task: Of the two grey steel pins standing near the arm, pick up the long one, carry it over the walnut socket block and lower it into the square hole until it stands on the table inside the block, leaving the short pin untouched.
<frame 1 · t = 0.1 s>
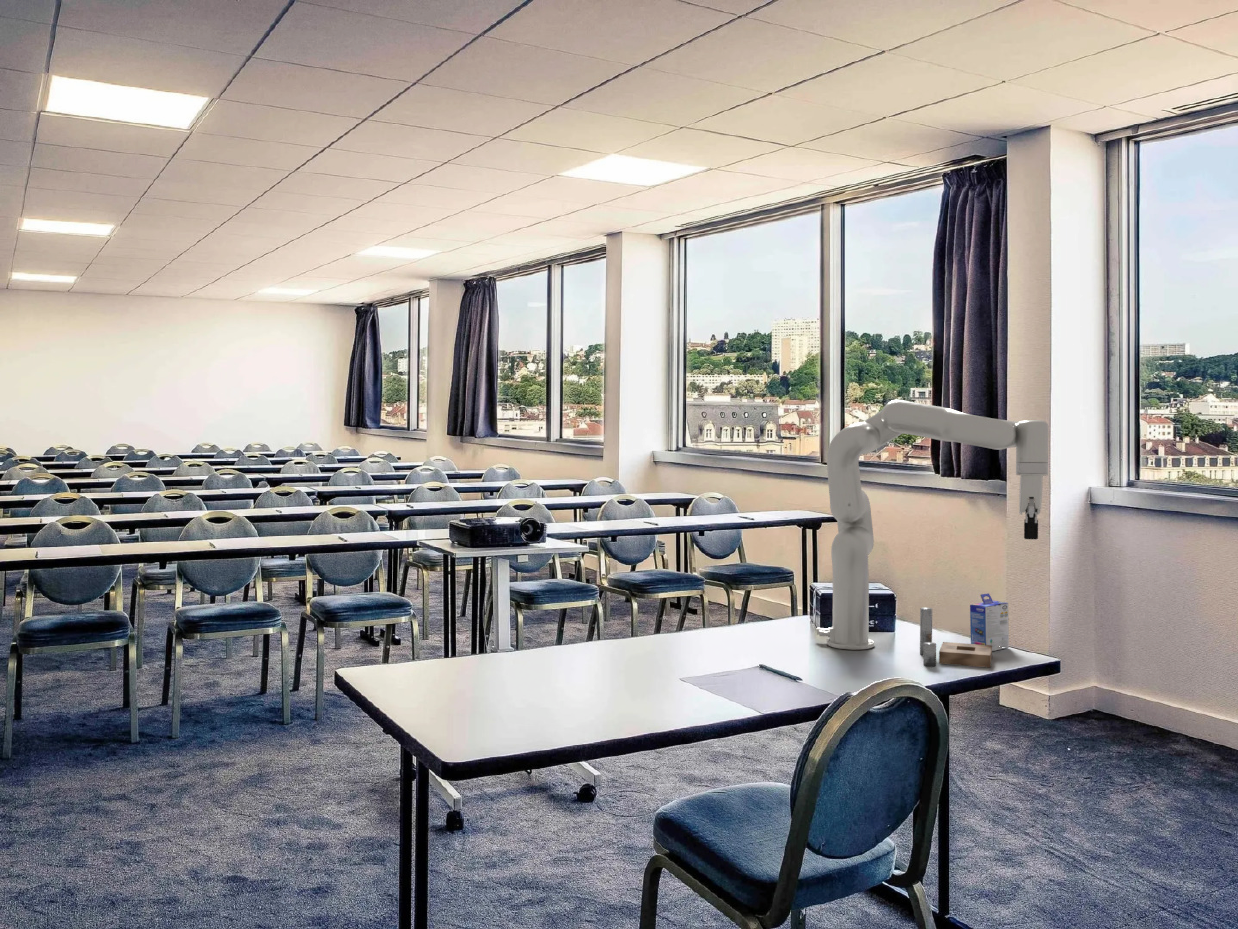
hand: (1030, 537, 261), 31 cm above the table, fingers open, 9 cm apart
short pin: (929, 665, 256), on the table
ink cartridge box: (989, 649, 275), on the table
long pin: (925, 654, 268), on the table
socket block: (965, 660, 262), on the table
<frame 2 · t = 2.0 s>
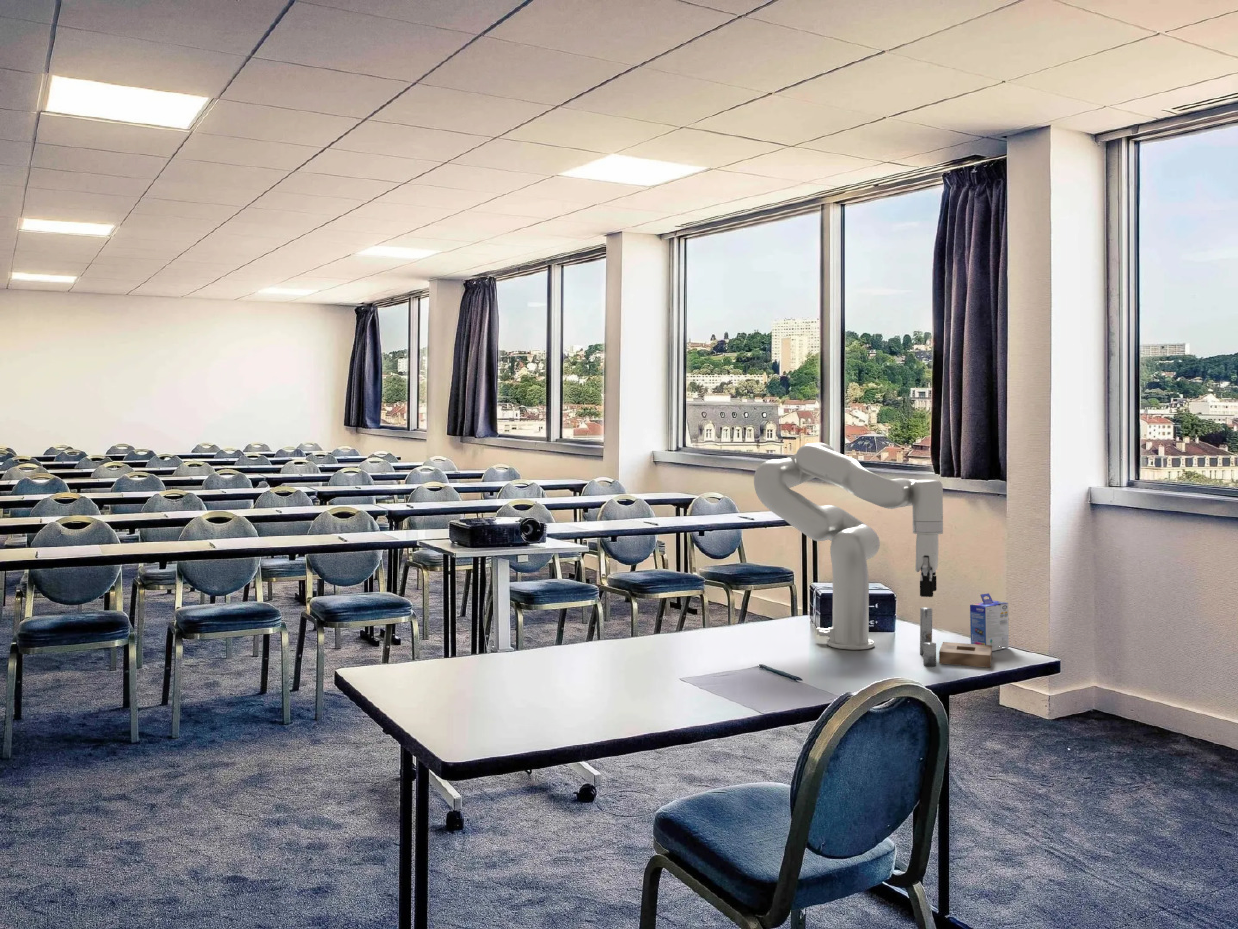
hand: (928, 593, 267), 16 cm above the table, fingers open, 9 cm apart
nothing on the table moved.
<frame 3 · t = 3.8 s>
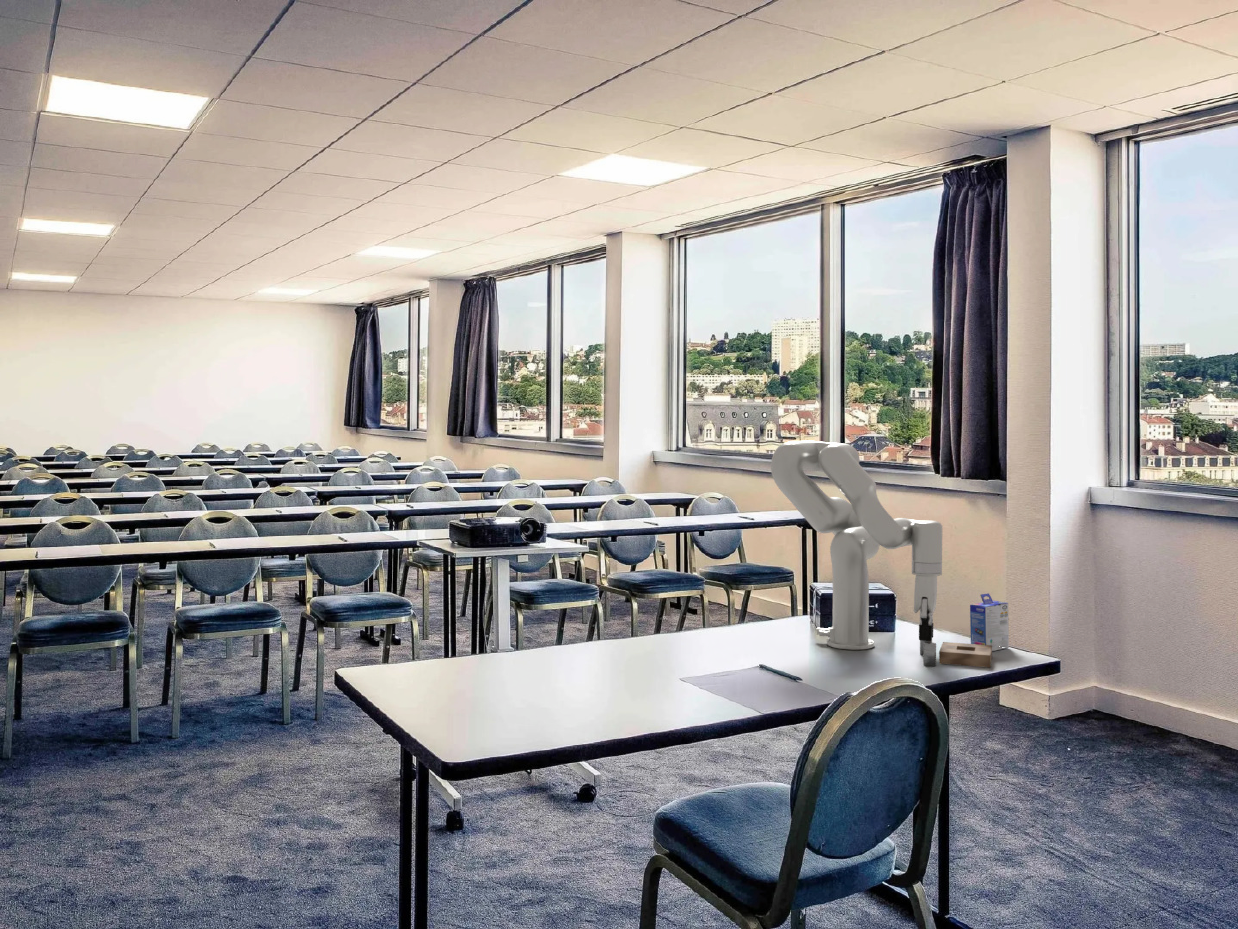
hand: (926, 638, 268), 4 cm above the table, fingers closed on long pin, 3 cm apart
long pin: (925, 654, 268), on the table, touching gripper
everything else where it was.
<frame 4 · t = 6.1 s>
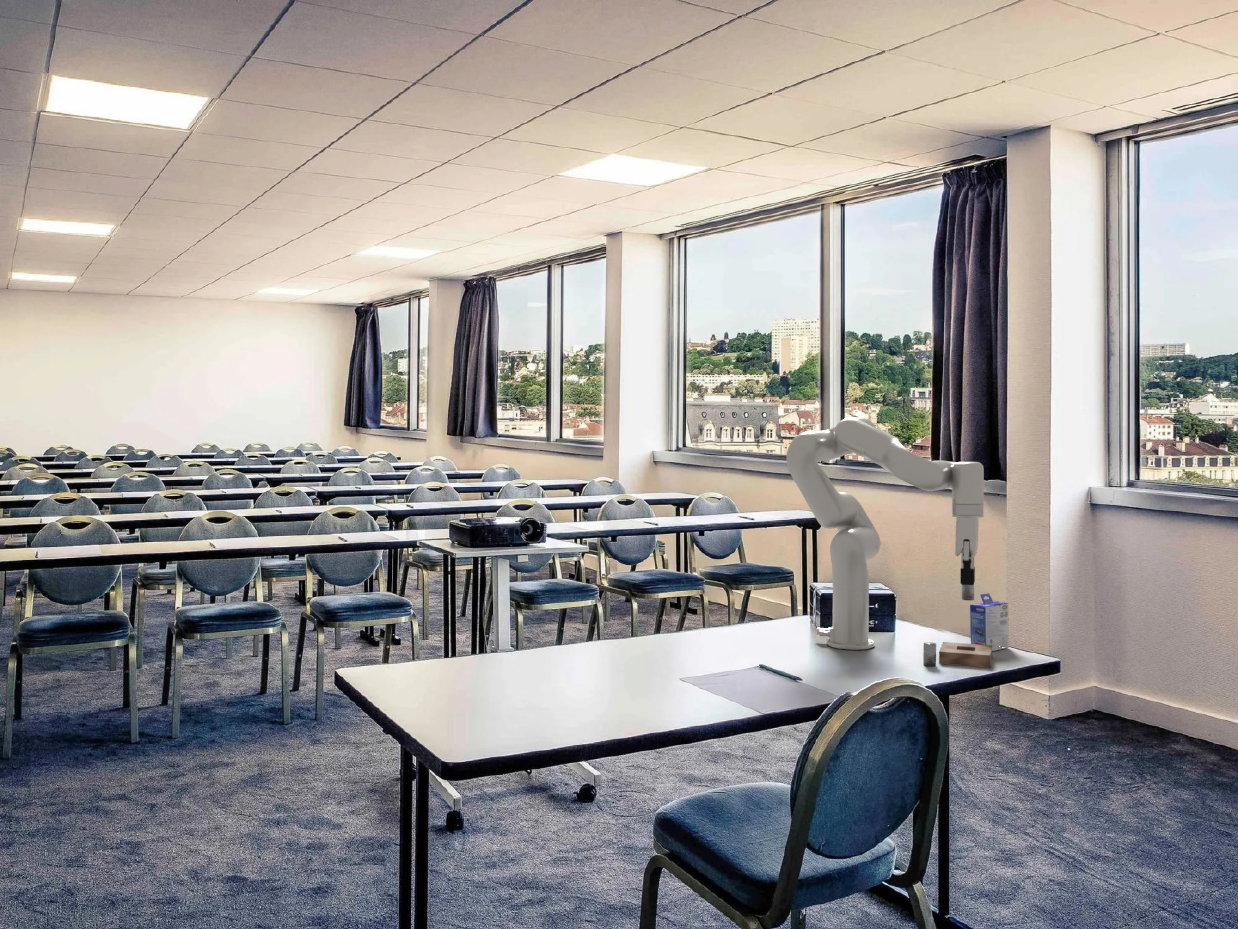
hand: (967, 583, 261), 20 cm above the table, fingers closed on long pin, 3 cm apart
long pin: (967, 599, 261), point 16 cm above the table, touching gripper
everything else where it was.
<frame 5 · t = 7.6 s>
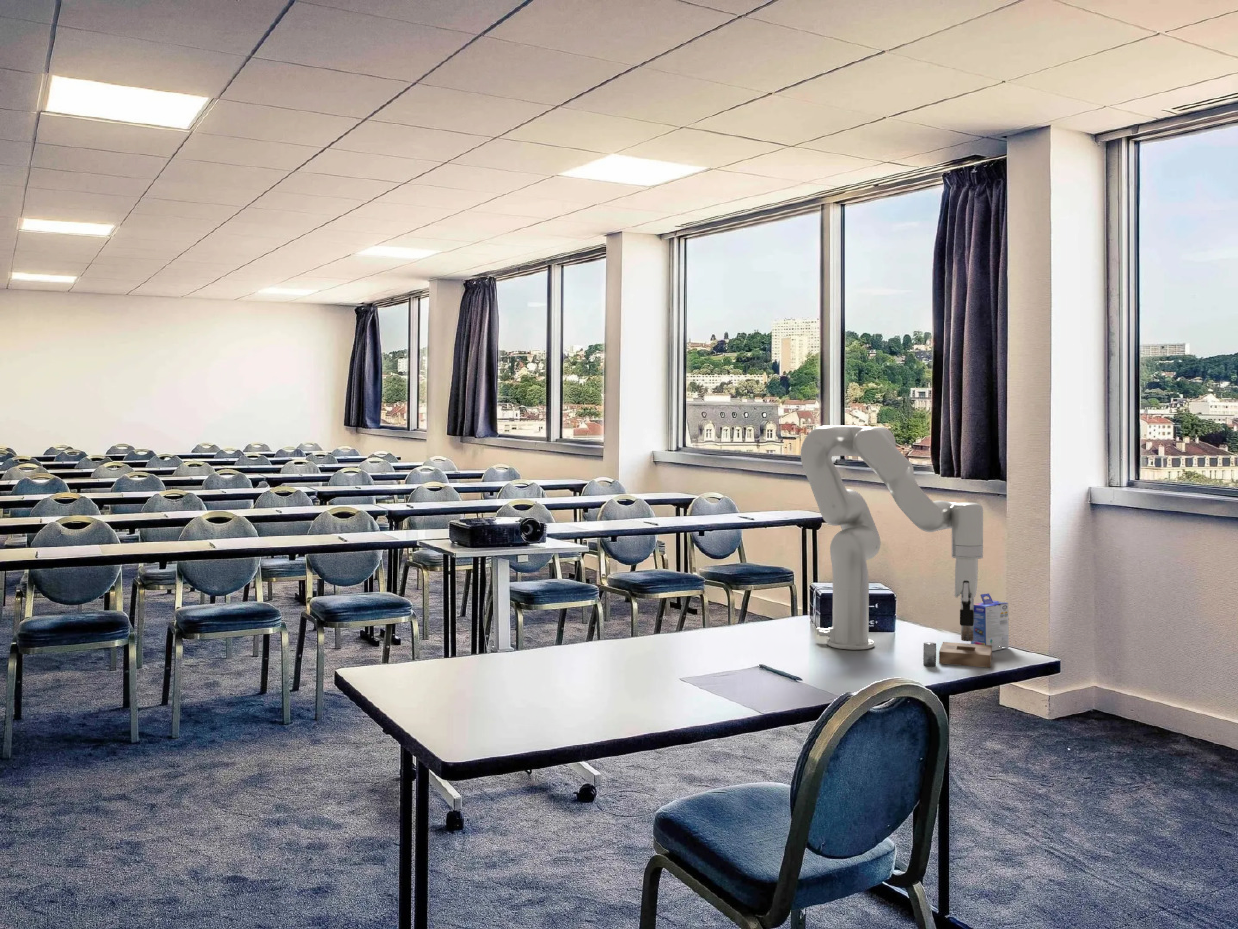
hand: (967, 623, 261), 9 cm above the table, fingers closed on long pin, 3 cm apart
long pin: (967, 640, 261), point 5 cm above the table, touching gripper
everything else where it was.
when the fingers open (5 cm above the table, at t = 8.6 s): long pin stays where it is, resting in socket block.
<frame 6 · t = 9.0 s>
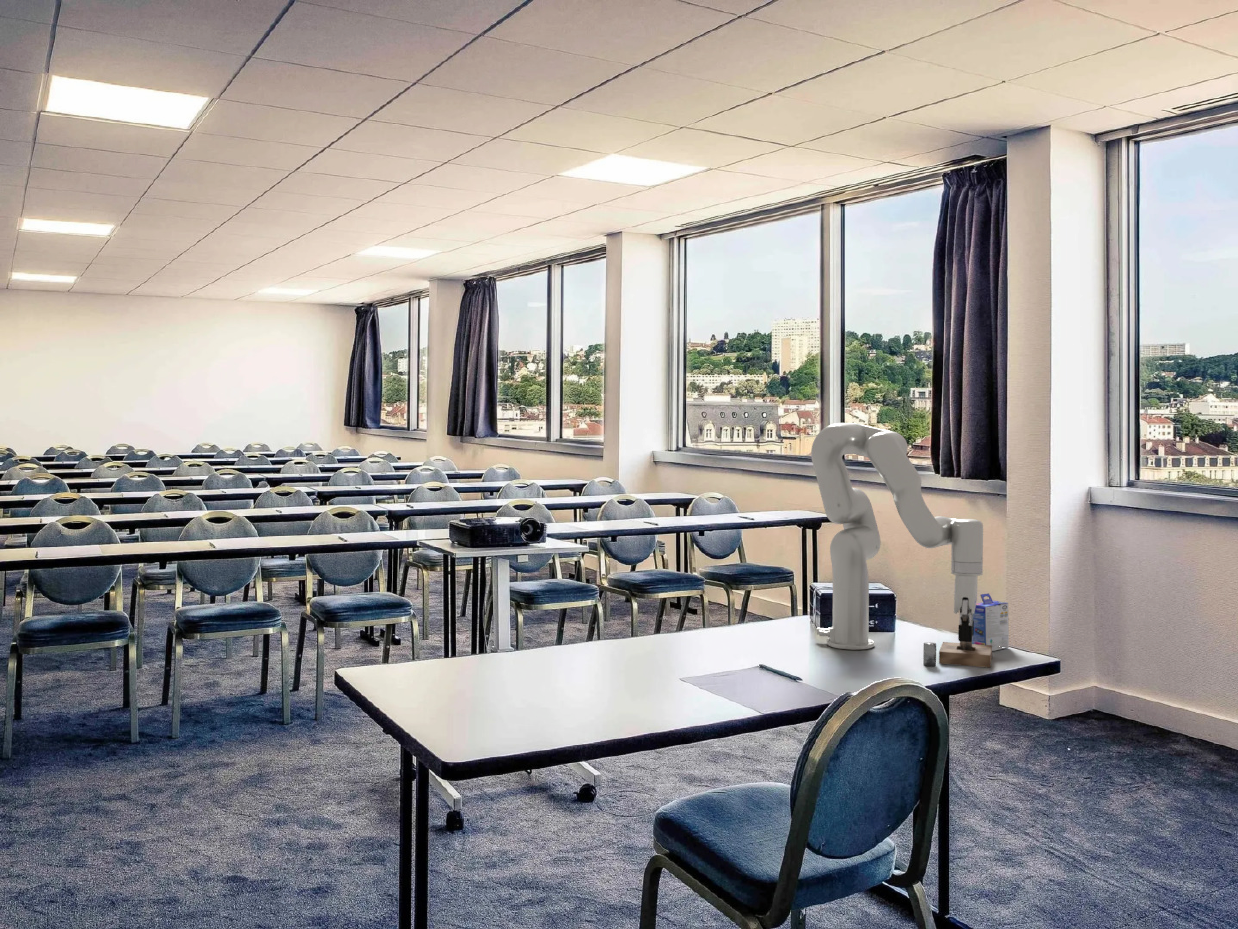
hand: (966, 637, 262), 6 cm above the table, fingers open, 6 cm apart
long pin: (965, 660, 262), resting in socket block
everything else where it was.
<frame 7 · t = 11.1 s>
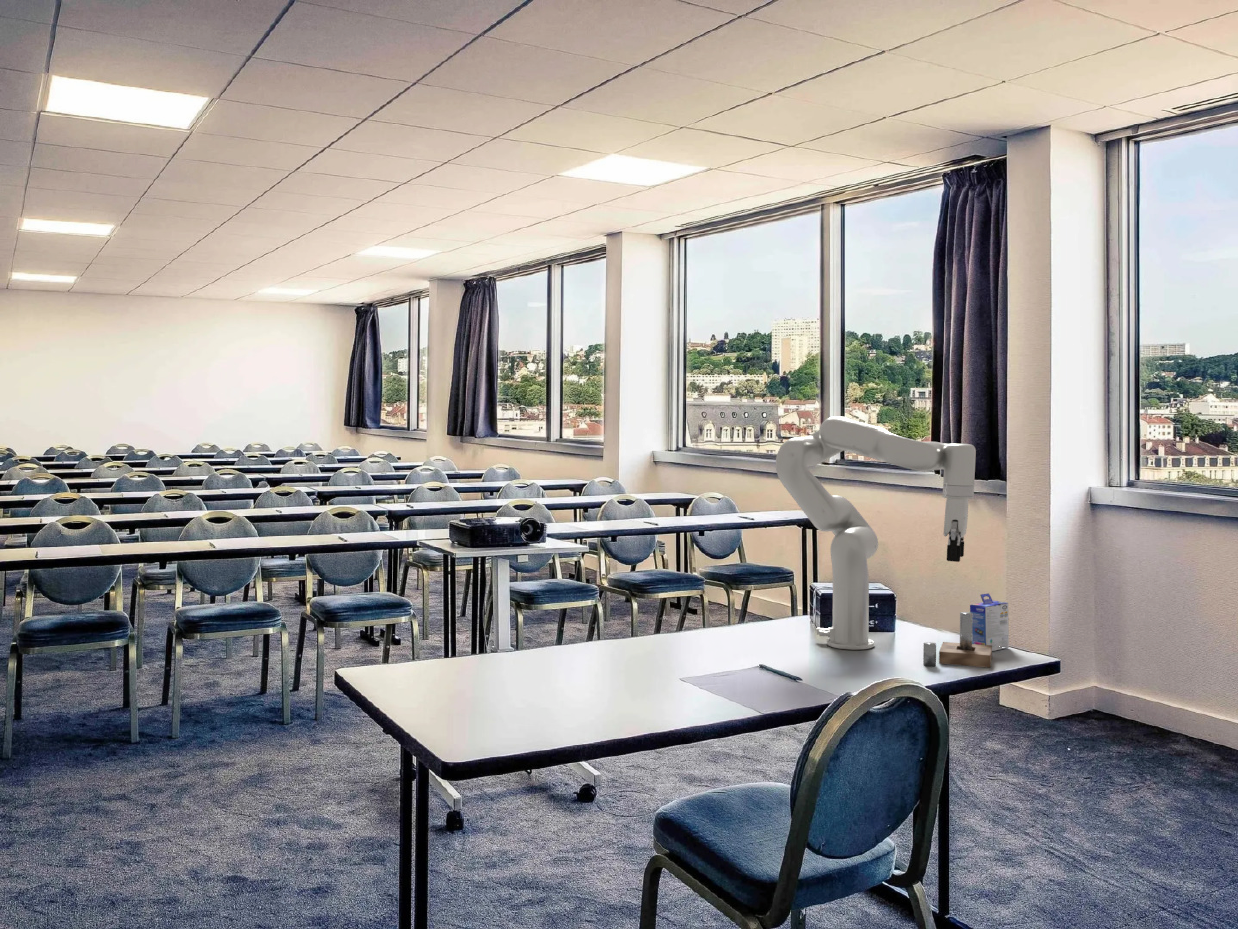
hand: (955, 558, 265), 25 cm above the table, fingers open, 9 cm apart
nothing on the table moved.
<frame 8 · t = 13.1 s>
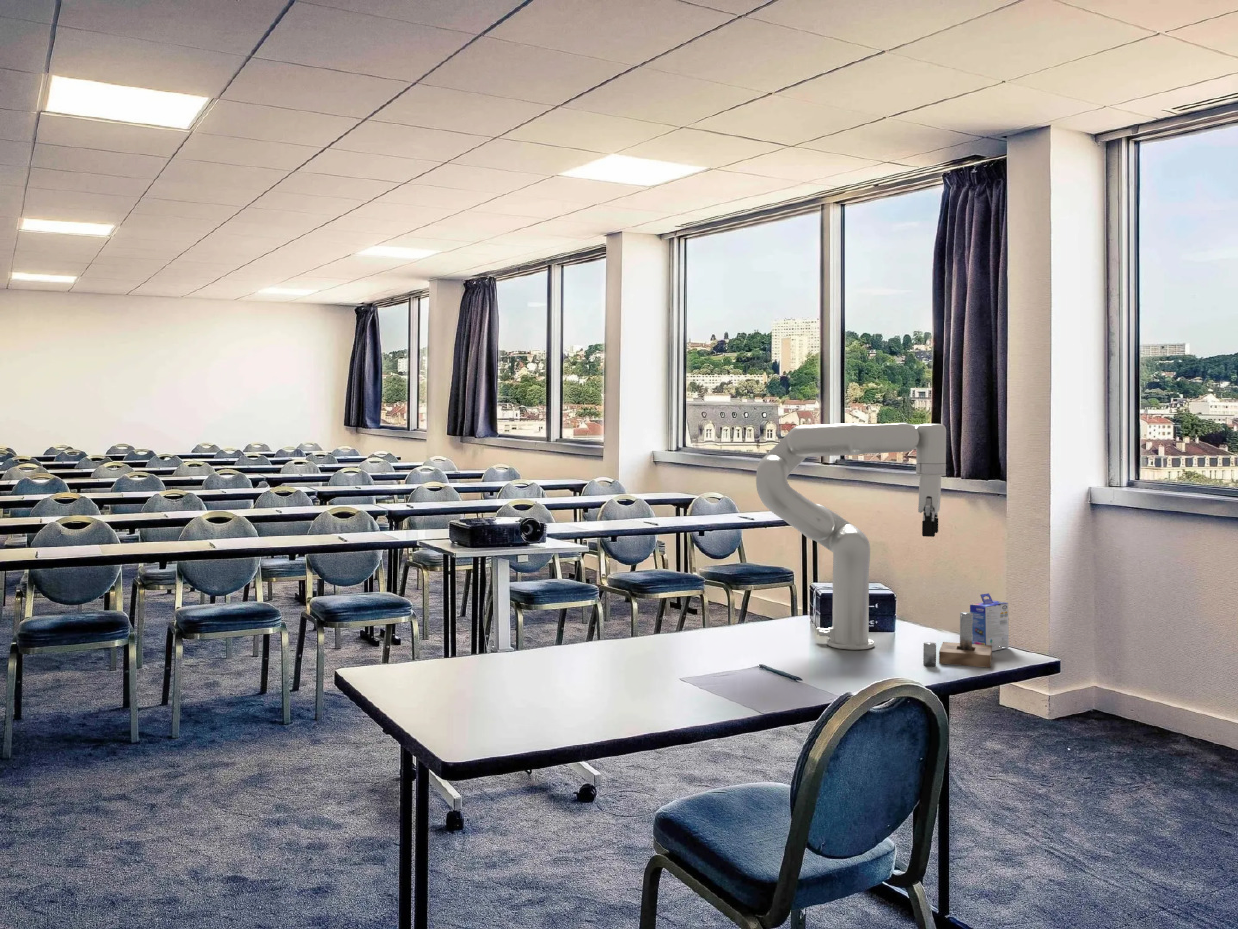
hand: (930, 534, 275), 30 cm above the table, fingers open, 9 cm apart
nothing on the table moved.
at the end: long pin 0.0 cm off-centre on the socket block, point 0.0 cm above the socket block's base; long pin tilted 0°; short pin moved 0.0 cm from its start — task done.
